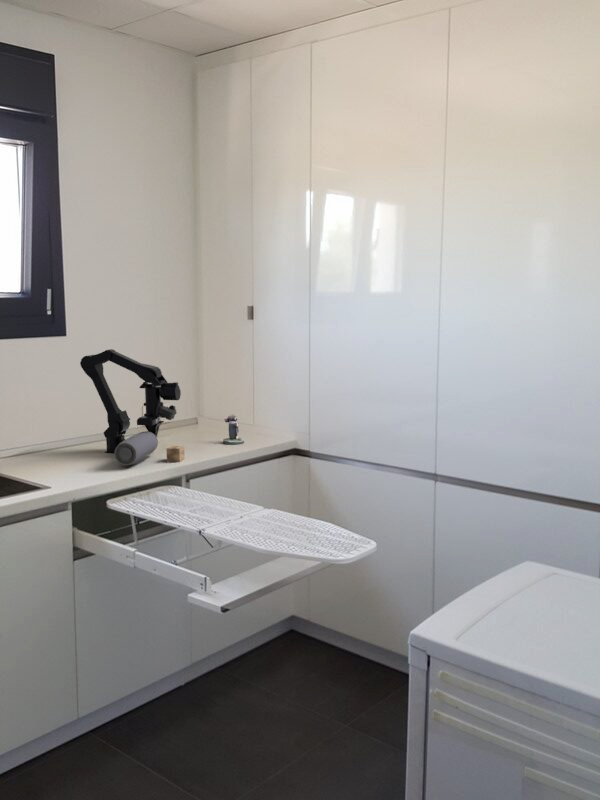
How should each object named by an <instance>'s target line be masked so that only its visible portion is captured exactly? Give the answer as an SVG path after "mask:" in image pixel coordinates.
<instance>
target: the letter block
mask: <svg viewBox="0 0 600 800" xmlns="http://www.w3.org/2000/svg"><path fill="white" fill-rule="evenodd" d="M165 449H166V463H167V462H168V463H181V462H183V461H185V460H186V459H185V455H186V454H185V446H184V445H183V446H182V445H171V446H169V447H166V448H165Z"/></svg>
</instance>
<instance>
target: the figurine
mask: <svg viewBox="0 0 600 800" xmlns="http://www.w3.org/2000/svg"><path fill="white" fill-rule="evenodd" d="M237 421H238V418H237V417H236V415H235V414H230V415H228V416H227V417H224V422H225V423H228V437H226V438H223V440H222V442H223V443H222V444H223V445H226V446H227V445H228V446H239V445H243V444H245V439H244V438H241V437H238V433H239V431H240V429H239V426H240V425H239V423H238V422H237Z"/></svg>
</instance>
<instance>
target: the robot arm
mask: <svg viewBox="0 0 600 800" xmlns="http://www.w3.org/2000/svg"><path fill="white" fill-rule="evenodd" d="M107 362H111V363H113V364H115V365H117V366H119V367H121V368H124V369H126V370H129V371H130V372H132V373H134V374H135V375H137V376H138V378H140V379H141V380H143V382H142V384H141V385H140V386H139V389H144V396H145V397H144V398H145V399H144V401H145V402H144V403H143V406H144V407H145V413H143V416H142V415H141V416H140V417H138V418H137V420H136V425H137V426H144V427H145V429H146V430H147V431H148V432H152V433H153V434H154V435H155V436H156V437H158V433H159V430H160V426H161V425H162V424H163V423H164V422H165V420H162V418H163V419H166V420H169V421H172V420H174V419H175V415H177V409H176V406H175V405H173V404H172V405H169V406H165V405H164V402H163V401H179V400H180V399H181V395H182V393H181V388H180V386H179V382H177V381H173V382H168V381H167V379H166V378H165V377H164V375H163V374H162V370H161V368H160V367H158V366H156V365H152V364H146V363H141V362H139V361H137V360H136V359H133V358H131V357H129V356H127V355H124V354H122V353H120V352H118V351H116V350H115V349H112V348H111V349H106V350H103V351H102V352H98V353H97V354H89V355H85V356H83V357H82V358H80V362H79V365H80V367H81V369H82V370H83V371H84V372H83V373H85V374H86V375H87V377H89V379H91V381H92V383H93V385H94V387H95V389H96V391H97V394H98V396H99V397H100V400H101V402H102V404H103V407H104V410H105V411H106V415H107V417H106V419H107V424H108V427H107V429H105V430H104V431H103V436H104V438H105V441H106V450H104V453H108V454H109V453H110V454H112V453H113V454H114V452H115V448H116V447H117V446H118V445H119V444H120V443H121V442H123V441H124V440H126V439H127V438H125V435H126V434H127V433H126V432H127V430H128V429H129V428H130V425H131V421H130V420H131V418H130V417H129V415H128V413H127V410H123V411H122V410H121V409H120V407H119V405H118V404H117V402H116V399H115V397H114V394H113V393H112V390H111V388H110V386H109V384H108V382H107V379H106V377H105V375H104V365H103V364H105V363H107ZM161 399H162V400H163V401H162V400H161Z"/></svg>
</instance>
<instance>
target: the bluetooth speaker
mask: <svg viewBox="0 0 600 800" xmlns="http://www.w3.org/2000/svg"><path fill="white" fill-rule="evenodd" d="M157 437H158V436H157ZM157 437H156V436H155V435H154V434H153V433H152V432H148V430H147V431H141V432H139V433H136V434H133V435H132V436H130V437H128V438H125V439H126V440H124V441H123V442H121V443H120V444H119V445H118V446H117V447H116V448H115V452H114V453H113V455H114V459H115V461H116V462H117V463H118V464H120V465H121V466H137V465H139V464H140V463H143V462H144V461H145V460H146V458H147V457H149V456H150V455H151V454H152V453H154V451H156V449H157V448H158V445H159V441H158V438H157Z"/></svg>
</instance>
